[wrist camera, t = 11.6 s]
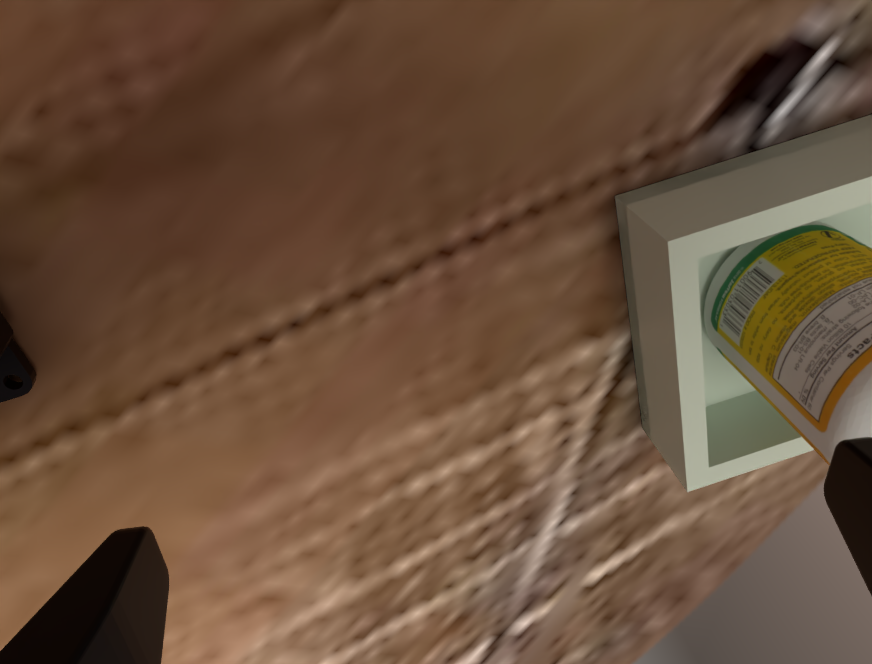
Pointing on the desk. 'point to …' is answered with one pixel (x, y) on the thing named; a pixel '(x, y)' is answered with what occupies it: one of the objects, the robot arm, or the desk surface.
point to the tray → (691, 278)
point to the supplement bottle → (800, 328)
